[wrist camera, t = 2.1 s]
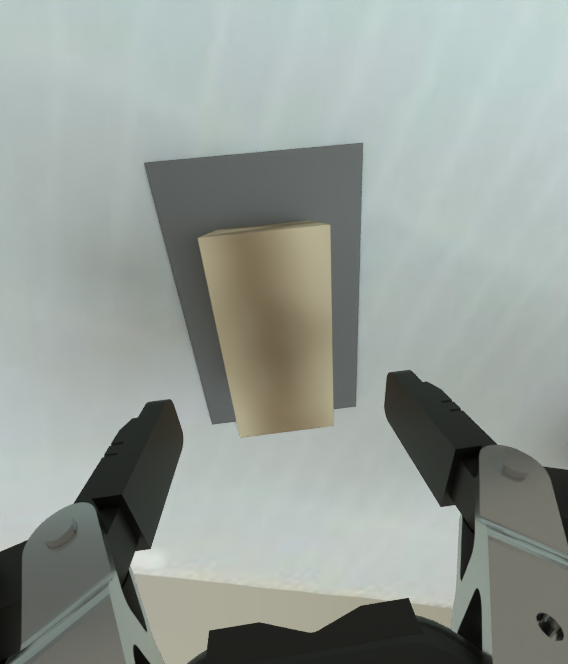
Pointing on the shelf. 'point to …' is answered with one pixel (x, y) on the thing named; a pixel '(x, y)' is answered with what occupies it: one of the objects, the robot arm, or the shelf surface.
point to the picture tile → (253, 210)
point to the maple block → (274, 322)
